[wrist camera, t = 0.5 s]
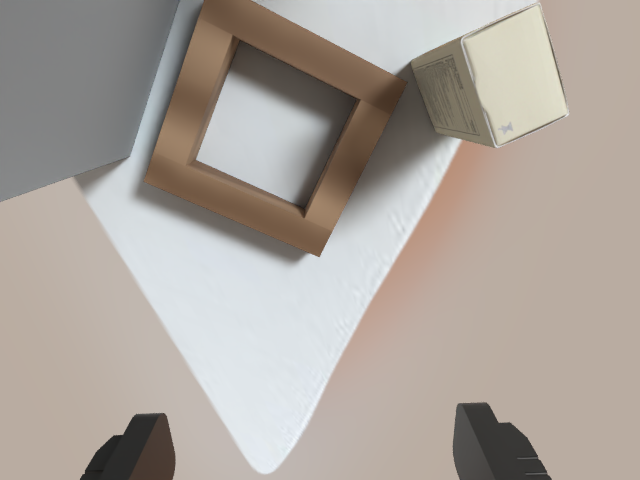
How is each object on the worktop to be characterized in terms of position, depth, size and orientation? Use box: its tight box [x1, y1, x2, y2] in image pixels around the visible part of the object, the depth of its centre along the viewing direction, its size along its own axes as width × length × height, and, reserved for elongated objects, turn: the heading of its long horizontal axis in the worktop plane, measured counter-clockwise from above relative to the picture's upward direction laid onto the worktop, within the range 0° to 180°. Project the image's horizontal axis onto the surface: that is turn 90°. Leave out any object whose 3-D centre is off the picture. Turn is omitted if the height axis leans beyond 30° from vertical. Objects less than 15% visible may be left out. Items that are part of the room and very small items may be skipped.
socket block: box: [144, 0, 407, 257], centre depth 32 cm, size 15×15×3 cm
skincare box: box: [411, 2, 569, 148], centre depth 27 cm, size 6×4×12 cm
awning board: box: [0, 0, 179, 202], centre depth 21 cm, size 14×3×24 cm, turn 155°
